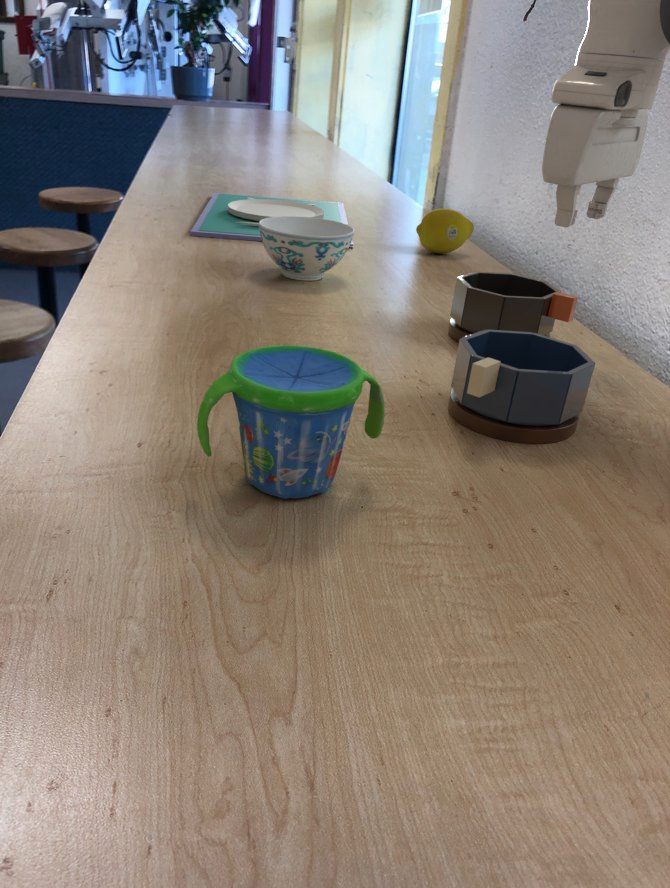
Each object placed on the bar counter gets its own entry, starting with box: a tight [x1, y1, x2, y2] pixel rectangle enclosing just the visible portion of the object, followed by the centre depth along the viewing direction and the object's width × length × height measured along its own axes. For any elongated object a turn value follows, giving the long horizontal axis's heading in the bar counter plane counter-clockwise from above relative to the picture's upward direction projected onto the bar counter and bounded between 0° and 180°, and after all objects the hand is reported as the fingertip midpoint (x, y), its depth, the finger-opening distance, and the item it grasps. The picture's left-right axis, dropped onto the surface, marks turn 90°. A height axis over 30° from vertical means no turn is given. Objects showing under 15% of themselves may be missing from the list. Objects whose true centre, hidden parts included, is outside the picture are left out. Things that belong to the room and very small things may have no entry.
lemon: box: [415, 207, 475, 255], centre depth 148 cm, size 11×8×8 cm
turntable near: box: [447, 388, 580, 445], centre depth 82 cm, size 13×13×2 cm
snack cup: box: [196, 344, 385, 500], centre depth 64 cm, size 16×10×10 cm
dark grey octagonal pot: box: [449, 271, 579, 336], centre depth 103 cm, size 15×12×6 cm
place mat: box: [189, 192, 354, 247], centre depth 166 cm, size 45×30×2 cm
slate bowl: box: [450, 330, 596, 426], centre depth 79 cm, size 15×12×6 cm
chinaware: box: [259, 216, 355, 282], centre depth 125 cm, size 15×15×8 cm
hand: (579, 221), depth 91 cm, fingers open, 8 cm apart
